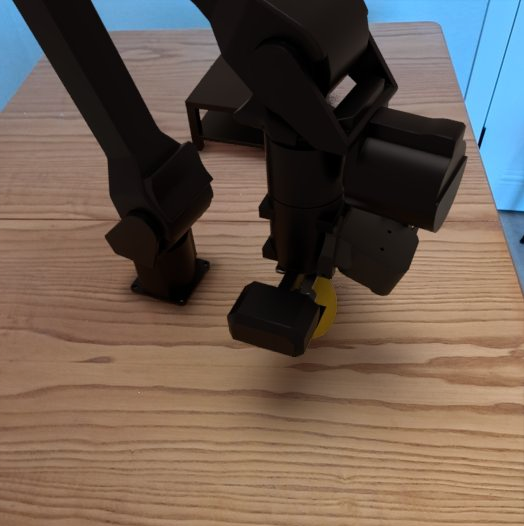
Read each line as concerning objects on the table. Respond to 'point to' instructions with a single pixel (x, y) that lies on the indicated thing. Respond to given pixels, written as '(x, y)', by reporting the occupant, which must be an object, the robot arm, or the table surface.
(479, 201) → the table surface
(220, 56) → the dark coffee table
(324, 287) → the lemon
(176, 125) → the table surface
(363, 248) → the robot arm
